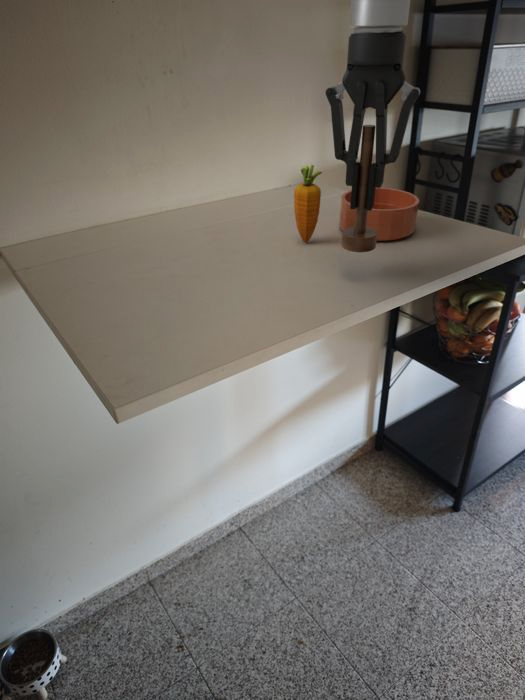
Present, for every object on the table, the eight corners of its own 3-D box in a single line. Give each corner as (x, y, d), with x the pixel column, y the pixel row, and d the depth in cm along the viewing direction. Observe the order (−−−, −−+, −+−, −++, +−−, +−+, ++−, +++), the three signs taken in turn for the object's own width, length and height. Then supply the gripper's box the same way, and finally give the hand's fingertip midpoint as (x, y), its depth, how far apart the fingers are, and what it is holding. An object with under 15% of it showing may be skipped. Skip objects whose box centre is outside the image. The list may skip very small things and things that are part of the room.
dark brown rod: (378, 241, 84) (391, 123, 74) (372, 254, 79) (386, 129, 69) (345, 238, 85) (353, 121, 75) (338, 250, 81) (346, 128, 71)
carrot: (306, 236, 101) (308, 159, 93) (323, 243, 98) (328, 164, 90) (287, 242, 99) (289, 164, 91) (305, 249, 96) (308, 169, 87)
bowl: (417, 220, 108) (422, 190, 105) (409, 246, 96) (415, 213, 93) (347, 214, 113) (349, 184, 109) (331, 237, 101) (333, 206, 97)
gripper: (438, 29, 67) (412, 204, 80) (329, 31, 71) (322, 197, 84) (434, 30, 61) (407, 218, 74) (316, 32, 65) (310, 210, 78)
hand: (362, 207), depth 79 cm, fingers closed on dark brown rod, 2 cm apart
